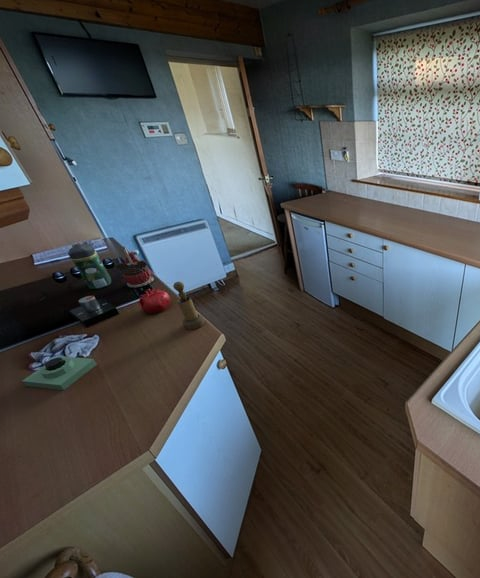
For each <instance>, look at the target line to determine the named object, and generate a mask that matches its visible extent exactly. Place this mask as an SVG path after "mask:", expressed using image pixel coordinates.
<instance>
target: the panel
mask: <svg viewBox="0 0 480 578" xmlns="http://www.w3.org/2000/svg"><path fill="white" fill-rule="evenodd" d="M96 300H97V302H98V304H99V305H100V308H99V309H98V310H96V311H93V312H85V311H84V309H83V308H82V306H81V305H80V306H78V307H75V308H73V309H70V310H69V312H70V314H71V316H72V317H73V318H74V319H76V320H77V321H78V320H79V321H80V322H81V323H80V322H79V321H78V322H79V323H80V324H81V325H83V326H84V327H85V328H86V329H88V328H90V327H92V326H94V325H96V324H99V323H101V322H104V321H106V320H108V319H111V318H113V317H116V316H118V315H120V311H118V309H117V307H116V306H114V305H113V304H111V303H109V301H107V300H105V299H104V298H99V299H96Z"/></svg>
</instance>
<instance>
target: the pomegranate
mask: <svg viewBox="0 0 480 578" xmlns="http://www.w3.org/2000/svg"><path fill="white" fill-rule="evenodd" d="M144 292H145V294H140V295H139V300H138V306H139V307H140V309H141V310H142V311H144V312H146V313H148V314H157V313H160V312H161V313H162V312H163V311H166V309H167V308H168V307H169V306H170V304H171V295H169V293H167V292H166V291H164V290H161V289H160V288H156V289H154V288H152V289H150V288H148V289H146V290H144Z"/></svg>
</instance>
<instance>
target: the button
mask: <svg viewBox="0 0 480 578" xmlns="http://www.w3.org/2000/svg"><path fill="white" fill-rule="evenodd" d="M64 364H65V362H64V361H63V359H62V358H56V357H54V358H51V359H49V360H48V361H46V362H45V363H44V365H43V366H45V367H46V368H47V369H48V370H49V371H51V370H55V369H58V368H60V367H61V366H63V365H64Z"/></svg>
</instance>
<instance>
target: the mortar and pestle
mask: <svg viewBox="0 0 480 578" xmlns="http://www.w3.org/2000/svg"><path fill="white" fill-rule="evenodd" d="M184 289H185V284H184V282H182V281H176V282H174V283H173V290H175V291H177V292H178V294H177V296H178V297H179V298H178V300H177V303H178V305H179V308H180V310H181V312H182V314H183V317H184V318H183V320H182V325H183V328H184V329H186V330H188V331H193V330H196V329H199V328H201V327H202V326H204V324H205V319H204V316H203V315H202V314H200V315H199V313H198V312H197V310H196V307H195V304H194V303H193V299H192V298H191V296H187V293H186V291H184Z"/></svg>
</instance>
